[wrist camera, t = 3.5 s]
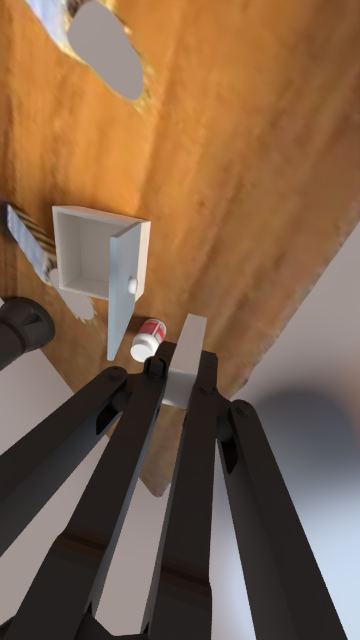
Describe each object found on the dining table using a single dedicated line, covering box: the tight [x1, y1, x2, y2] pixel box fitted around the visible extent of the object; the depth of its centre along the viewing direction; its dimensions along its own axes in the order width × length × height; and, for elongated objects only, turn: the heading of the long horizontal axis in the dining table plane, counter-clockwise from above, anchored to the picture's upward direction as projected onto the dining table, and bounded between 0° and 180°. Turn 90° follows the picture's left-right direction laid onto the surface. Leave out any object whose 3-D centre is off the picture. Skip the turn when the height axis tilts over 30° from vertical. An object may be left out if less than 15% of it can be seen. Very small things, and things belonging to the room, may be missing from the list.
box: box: [52, 206, 151, 301], centre depth 47 cm, size 16×16×8 cm
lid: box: [107, 221, 142, 361], centre depth 35 cm, size 16×17×2 cm
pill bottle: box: [131, 319, 166, 362], centre depth 53 cm, size 6×6×11 cm
